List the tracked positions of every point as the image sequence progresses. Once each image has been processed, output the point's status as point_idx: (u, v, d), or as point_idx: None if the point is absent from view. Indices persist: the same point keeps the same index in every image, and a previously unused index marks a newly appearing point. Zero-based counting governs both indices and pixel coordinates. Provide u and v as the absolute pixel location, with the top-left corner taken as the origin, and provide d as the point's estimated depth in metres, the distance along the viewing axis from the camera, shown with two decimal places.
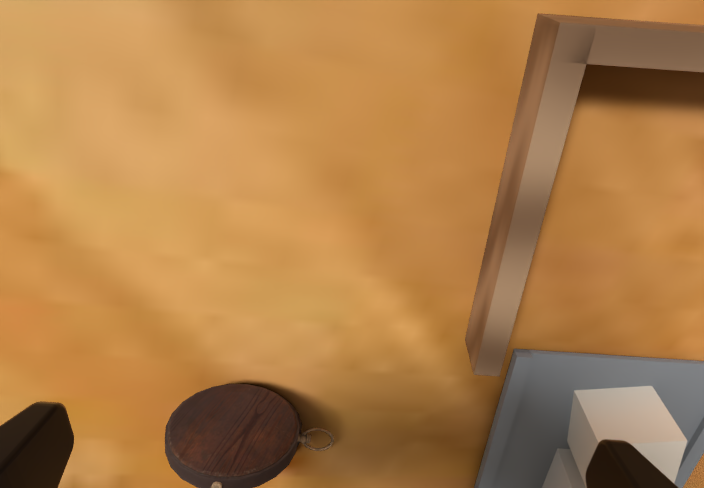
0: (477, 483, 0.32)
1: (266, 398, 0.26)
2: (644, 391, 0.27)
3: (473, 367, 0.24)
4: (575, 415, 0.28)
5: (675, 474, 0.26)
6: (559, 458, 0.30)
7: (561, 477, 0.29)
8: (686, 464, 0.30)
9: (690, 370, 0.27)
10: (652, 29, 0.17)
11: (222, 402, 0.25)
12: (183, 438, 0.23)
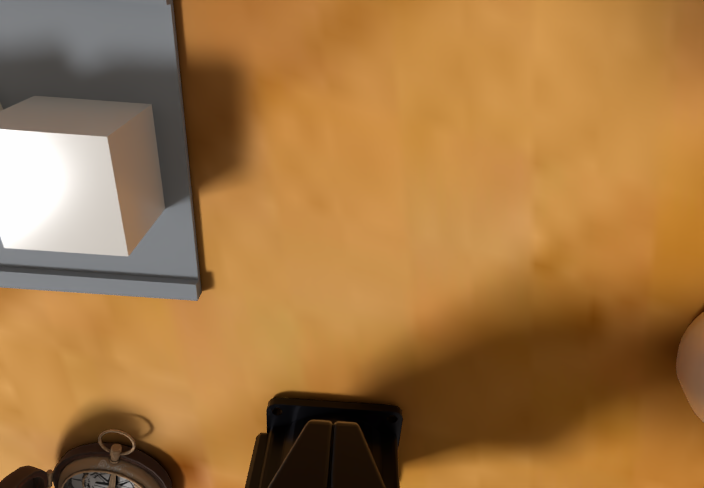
0: None
1: None
2: None
3: None
4: None
5: None
6: None
7: None
8: None
9: None
10: None
11: None
12: None
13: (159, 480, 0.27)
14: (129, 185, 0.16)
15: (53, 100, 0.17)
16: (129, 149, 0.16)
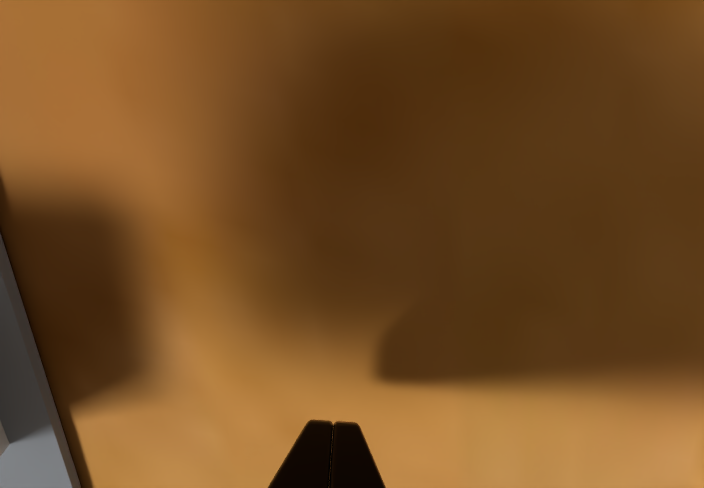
0: None
1: None
2: None
3: None
4: None
5: None
6: None
7: None
8: None
9: None
10: None
11: None
12: None
13: None
14: None
15: None
16: None
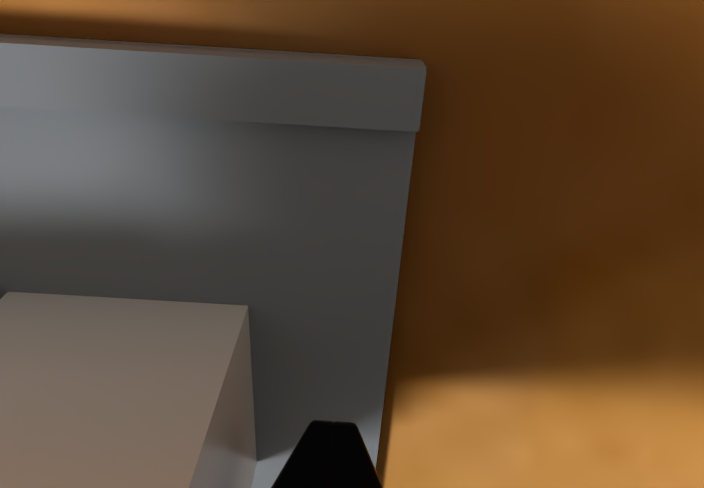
0: None
1: None
2: None
3: None
4: None
5: None
6: None
7: None
8: (49, 92, 0.07)
9: None
10: None
11: None
12: None
13: None
14: None
15: (46, 309, 0.08)
16: (219, 450, 0.07)
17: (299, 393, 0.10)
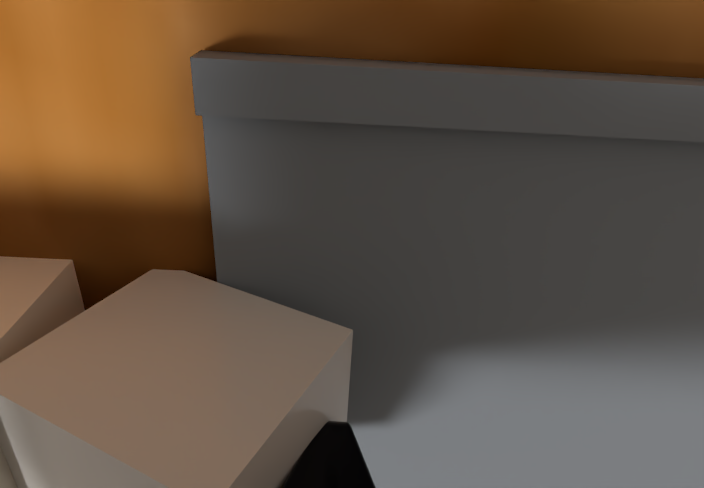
0: None
1: None
2: None
3: None
4: None
5: None
6: None
7: None
8: (692, 125, 0.08)
9: (239, 228, 0.09)
10: None
11: None
12: None
13: None
14: None
15: (182, 286, 0.09)
16: (277, 470, 0.07)
17: None
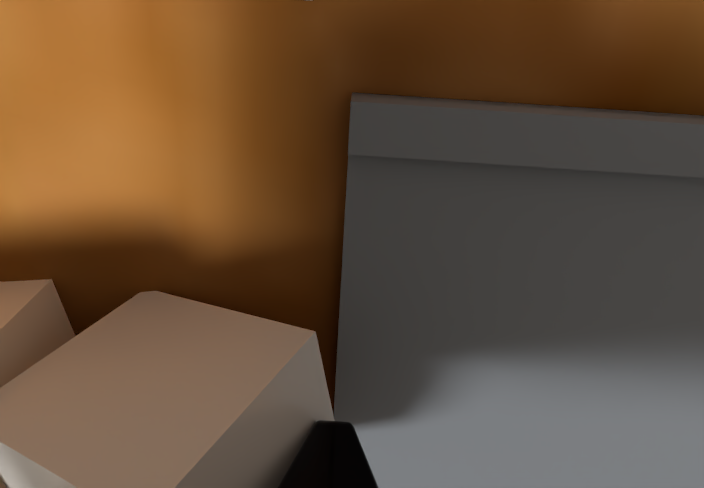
0: None
1: None
2: None
3: None
4: None
5: None
6: None
7: None
8: None
9: (368, 258, 0.09)
10: None
11: None
12: None
13: None
14: None
15: (159, 308, 0.09)
16: (236, 480, 0.07)
17: None
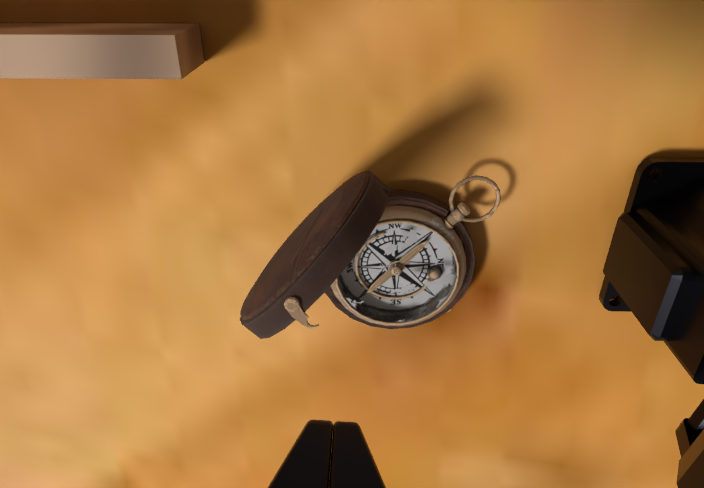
0: None
1: (332, 193, 0.17)
2: None
3: None
4: None
5: None
6: None
7: None
8: None
9: None
10: None
11: (289, 239, 0.17)
12: (250, 299, 0.16)
13: (469, 276, 0.20)
14: None
15: None
16: None
17: None
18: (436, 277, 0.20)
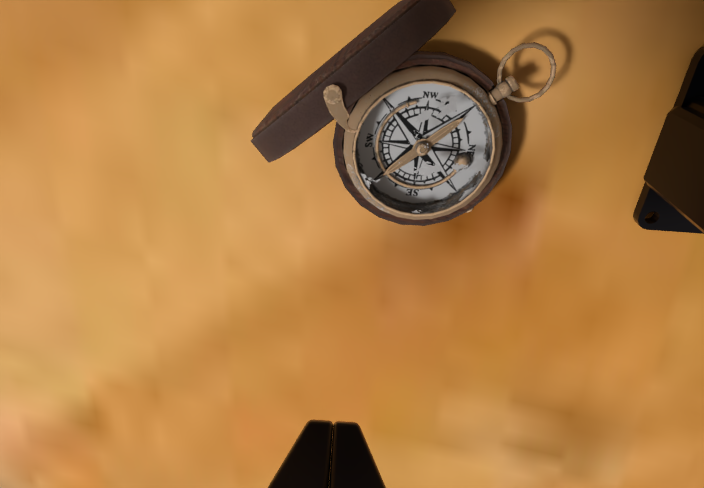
0: None
1: None
2: None
3: None
4: None
5: None
6: None
7: None
8: None
9: None
10: None
11: None
12: (268, 114, 0.13)
13: (500, 170, 0.18)
14: None
15: None
16: None
17: None
18: (464, 165, 0.18)
